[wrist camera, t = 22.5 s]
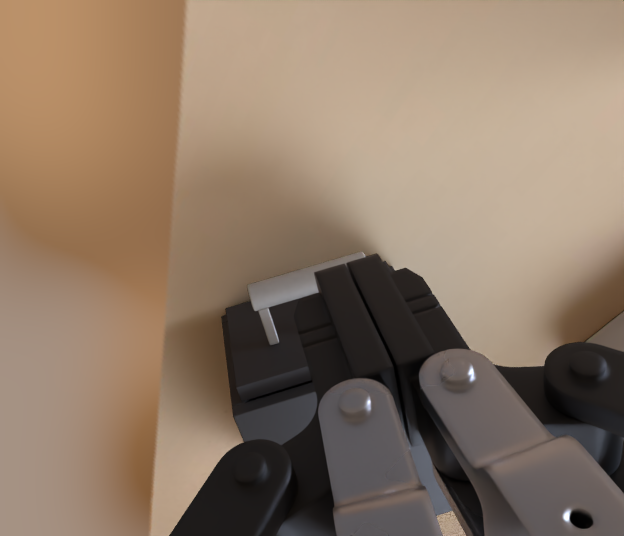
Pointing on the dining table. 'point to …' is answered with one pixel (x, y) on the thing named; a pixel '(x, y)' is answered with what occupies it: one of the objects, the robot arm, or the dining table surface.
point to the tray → (611, 334)
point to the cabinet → (304, 422)
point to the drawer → (273, 332)
